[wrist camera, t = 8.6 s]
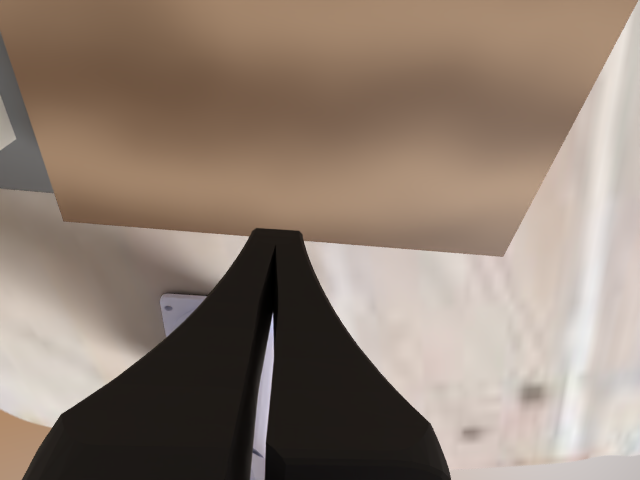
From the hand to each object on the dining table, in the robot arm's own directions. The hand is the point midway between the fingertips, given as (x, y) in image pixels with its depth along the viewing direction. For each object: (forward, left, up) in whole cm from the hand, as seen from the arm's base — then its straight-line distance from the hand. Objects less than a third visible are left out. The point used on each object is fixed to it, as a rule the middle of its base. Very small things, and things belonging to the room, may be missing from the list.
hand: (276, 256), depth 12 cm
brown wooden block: (+3, -1, -9) cm, 10 cm away
